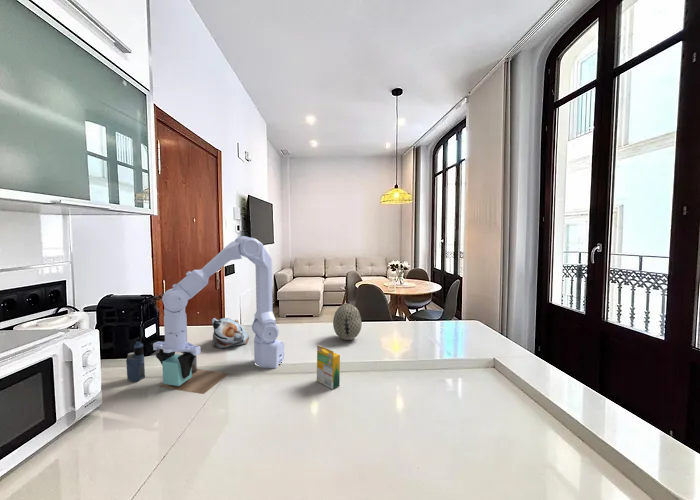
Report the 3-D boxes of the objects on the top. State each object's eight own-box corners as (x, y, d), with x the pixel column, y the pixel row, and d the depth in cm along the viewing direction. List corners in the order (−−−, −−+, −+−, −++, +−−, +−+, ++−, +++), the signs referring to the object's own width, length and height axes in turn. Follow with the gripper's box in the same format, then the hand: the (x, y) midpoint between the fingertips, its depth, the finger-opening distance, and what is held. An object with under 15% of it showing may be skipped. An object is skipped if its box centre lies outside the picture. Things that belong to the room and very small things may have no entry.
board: (229, 376, 101) (229, 373, 100) (203, 397, 89) (203, 393, 89) (188, 370, 104) (188, 367, 104) (158, 389, 92) (158, 386, 92)
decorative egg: (361, 345, 127) (362, 308, 125) (332, 344, 127) (332, 307, 126) (361, 334, 139) (361, 300, 137) (333, 333, 139) (334, 299, 137)
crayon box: (340, 386, 96) (340, 348, 95) (332, 390, 94) (333, 351, 93) (323, 377, 101) (323, 341, 100) (316, 381, 99) (316, 344, 98)
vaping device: (140, 382, 96) (138, 344, 95) (125, 380, 97) (123, 342, 96) (147, 378, 99) (145, 340, 97) (132, 376, 100) (130, 339, 98)
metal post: (198, 370, 102) (198, 352, 102) (192, 374, 100) (192, 355, 99) (191, 369, 103) (190, 351, 102) (185, 373, 100) (184, 354, 100)
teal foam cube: (191, 377, 96) (190, 356, 95) (178, 386, 91) (177, 363, 90) (177, 375, 97) (176, 354, 97) (163, 383, 92) (162, 361, 92)
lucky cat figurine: (256, 340, 130) (254, 316, 122) (234, 361, 121) (231, 337, 113) (227, 325, 135) (224, 300, 127) (205, 345, 126) (199, 320, 118)
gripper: (143, 332, 90) (145, 378, 92) (187, 337, 87) (189, 385, 89) (163, 324, 97) (165, 367, 99) (204, 329, 94) (206, 373, 95)
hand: (177, 375), depth 94 cm, fingers closed on teal foam cube, 5 cm apart
